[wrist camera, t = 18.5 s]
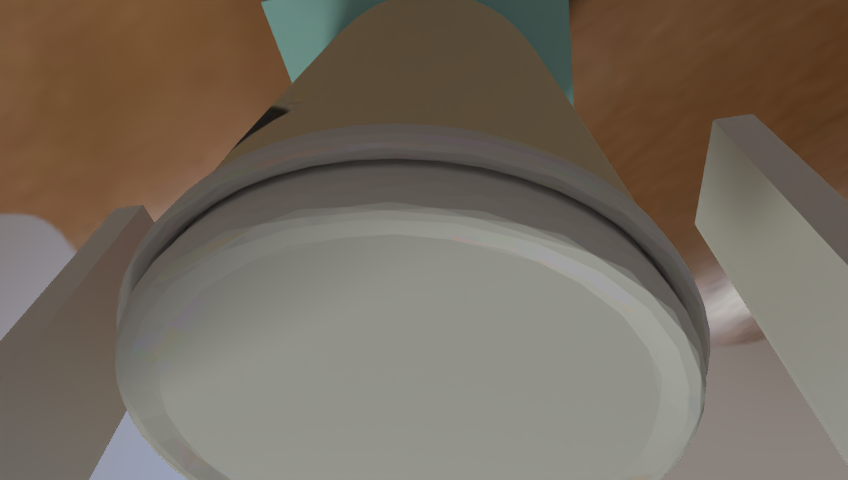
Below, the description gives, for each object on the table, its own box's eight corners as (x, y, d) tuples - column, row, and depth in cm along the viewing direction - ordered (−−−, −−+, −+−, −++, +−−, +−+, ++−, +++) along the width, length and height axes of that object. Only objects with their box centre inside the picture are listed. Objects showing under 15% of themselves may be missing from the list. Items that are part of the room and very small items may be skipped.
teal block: (310, -40, 21) (261, 2, 15) (532, -97, 19) (564, -72, 14) (371, 152, 26) (351, 234, 21) (549, 119, 25) (577, 199, 19)
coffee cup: (274, -50, 15) (-56, 150, 5) (603, -34, 14) (891, 201, 5) (308, 217, 20) (182, 544, 11) (543, 230, 20) (625, 572, 11)
